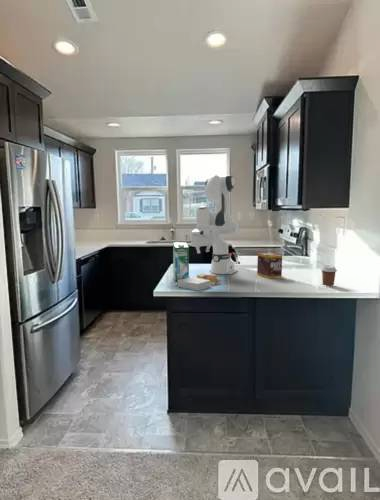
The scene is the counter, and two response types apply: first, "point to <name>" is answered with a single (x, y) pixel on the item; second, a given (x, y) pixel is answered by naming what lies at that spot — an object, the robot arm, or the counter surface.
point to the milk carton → (180, 261)
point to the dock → (194, 283)
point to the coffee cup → (328, 275)
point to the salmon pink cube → (212, 276)
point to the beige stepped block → (205, 276)
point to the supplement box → (269, 265)
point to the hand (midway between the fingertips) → (203, 252)
